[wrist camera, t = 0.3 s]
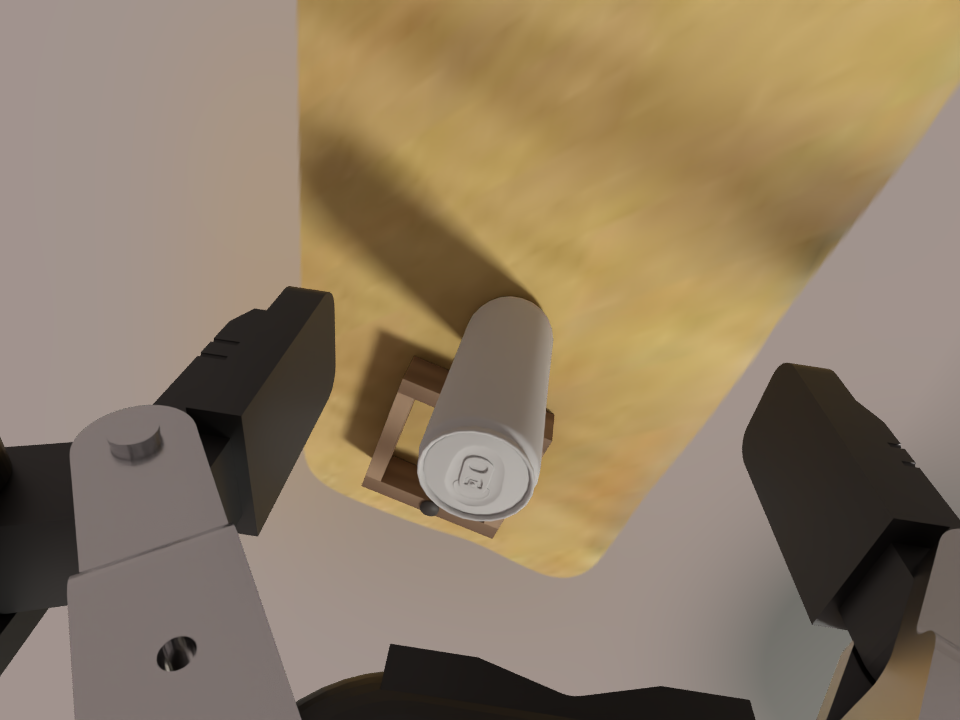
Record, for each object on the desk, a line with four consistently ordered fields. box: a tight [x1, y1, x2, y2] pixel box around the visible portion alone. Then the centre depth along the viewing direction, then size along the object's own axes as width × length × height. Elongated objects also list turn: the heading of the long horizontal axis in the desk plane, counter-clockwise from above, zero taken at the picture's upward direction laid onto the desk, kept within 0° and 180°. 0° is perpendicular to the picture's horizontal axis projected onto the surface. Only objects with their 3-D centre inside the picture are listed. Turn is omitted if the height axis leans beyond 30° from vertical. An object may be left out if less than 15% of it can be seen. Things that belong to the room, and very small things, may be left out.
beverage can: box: [417, 296, 553, 521], centre depth 27 cm, size 5×5×12 cm
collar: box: [362, 356, 554, 538], centre depth 35 cm, size 9×9×3 cm
